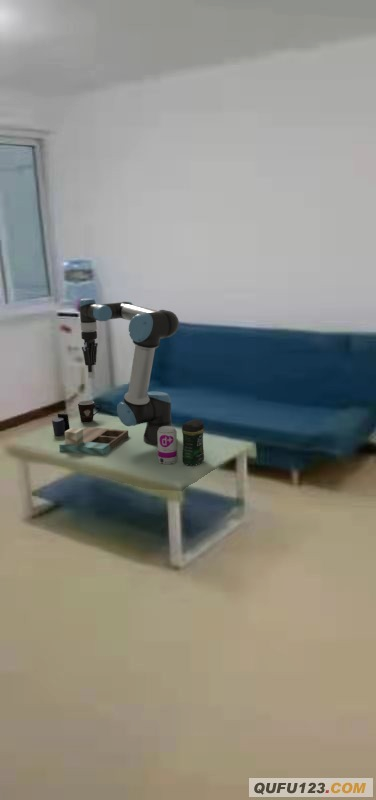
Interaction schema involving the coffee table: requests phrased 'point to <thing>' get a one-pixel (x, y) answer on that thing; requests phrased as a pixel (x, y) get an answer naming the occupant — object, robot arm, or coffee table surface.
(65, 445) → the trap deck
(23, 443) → the coffee table surface
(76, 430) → the birch block
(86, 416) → the coffee mug
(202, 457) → the coffee jar
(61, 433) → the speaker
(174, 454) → the supplement can
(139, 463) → the coffee table surface
